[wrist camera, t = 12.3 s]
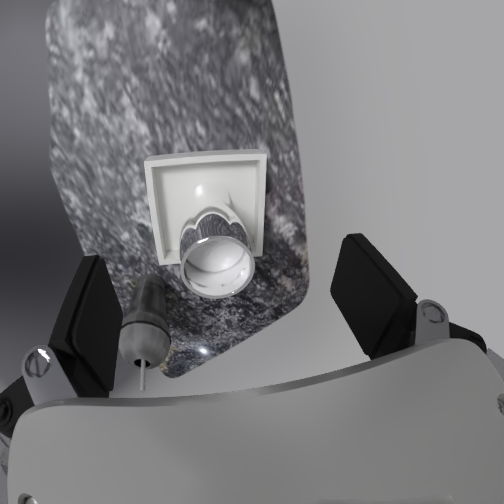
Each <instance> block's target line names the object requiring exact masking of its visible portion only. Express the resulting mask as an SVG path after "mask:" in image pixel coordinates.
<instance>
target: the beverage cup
mask: <svg viewBox="0 0 504 504" xmlns="http://www.w3.org/2000/svg"><path fill="white" fill-rule="evenodd" d="M170 345H171V337H170V334H169V329H168V326H167V313H166V295H165V285H164V282H163V280H162V279H161V278H160V277H159V276H157V275H154V274H145V275H143V276H141V277H140V279H139V280H138V283H137V285H136V287H135V290H134V293H133V296H132V299H131V302H130V305H129V308H128V311H127V314H126V317H125V319H124V321H123V323H122V326H121V332H120V338H119V349H120V351H121V354H122V356H123V357H124V359H125V360H126V361H127V362H128V363H129V364H130V365H132V366H134V367H136V368H139V369H141V392H143V393H144V392H145V369H152V368H155V367H157V366H159V365H160V364H161V363H162V362H163V361H164V360H165V359H166V357H167V355H168V352H169V349H170Z"/></svg>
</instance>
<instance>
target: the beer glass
mask: <svg viewBox="0 0 504 504" xmlns="http://www.w3.org/2000/svg"><path fill="white" fill-rule="evenodd" d="M186 212H187V214H188V215H187V217H186V219H185V222H184V224H183V227H182V230H181V233H180V239H179V261H180V274H181V278H182V280H183V282H184V284H185V285H186V287H187V288H188V289H189V290H191V291H192V292H193V293H195V294H197V295H199V296H202V297H205V298H212V299H219V298H225V297H229V296H232V295H234V294H236V293H238V292H240V291H241V290H242V289H244V288H245V287H246V286H247V285H248V283H249V282H250V281H251V279H252V277H253V275H254V271H255V261H254V257H253V254H252V249H251V244H250V241H249V237H248V234H247V232H246V230H245V227H244V225H243V223H242V222H241V220H240V219H239V218H238V216H237V215H236V214H235V213H234V212H233V210H232V209H231V200H230V197H229V195H228V193H227V192H226V190H225V189H223V188H222V187H220V186H218V185H216V184H202V185H199V186H197V187H196V188H194V189H193V190H192V191H191V192H190V193H189V195H188V197H187V199H186Z"/></svg>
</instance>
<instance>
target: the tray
mask: <svg viewBox="0 0 504 504" xmlns="http://www.w3.org/2000/svg"><path fill="white" fill-rule="evenodd" d="M266 160H267V154H266V153H265V152H264V151H263V150H261V149H242V150H216V151H200V152H186V153H175V154H165V155H156V156H148V157H147V159H146V160H145V161H144V166H145V175H146V184H147V192H148V199H149V207H150V213H151V220H152V226H153V232H154V238H155V244H156V249H157V255H158V260H159V265H167V264H179V263H180V261H179V239H180V233H181V230H182V227H183V224H184V222H185V219H186V217H187V215H188V214H187V212H186V199H187V197H188V195H189V193H190V192H191V191H192V190H193V189H194V188H196V187H197V186H199V185H202V184H216V185H218V186H220V187H222V188H223V189H225V190H226V192H227V193H228V195H229V197H230V200H231V209H232V210H233V212H234V213H235V214H236V215H237V216H238V218H239V219H240V220H241V222H242V223H243V225H244V227H245V230H246V232H247V234H248V237H249V241H250V244H251V249H252V254H253V257H257V256H262V251H263V230H264V208H265V185H266Z"/></svg>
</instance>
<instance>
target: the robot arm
mask: <svg viewBox="0 0 504 504" xmlns="http://www.w3.org/2000/svg"><path fill="white" fill-rule="evenodd" d="M330 289H331V290H330V292H331V295H332V298H333V299H334V301H335V303H336V304H337V306H338V308H339V309H340V311H341V313H342V314H343V316H344V318H345V320H346V322H347V323H348V325H349V327H350V329H351V330H352V332H353V334H354V336H355V337H356V339H357V341H358V343H359V345H360V346H361V348H362V350H363V352H364V353H365V354H366V355H368V356H369V357H370V359H371V361H368V362H364V363H361V364H358V365H354V366H351V367H348V368H344V369H340V370H337V371H333V372H329V373H325V374H321V375H318V376H313V377H309V378H305V379H300V380H296V381H291V382H286V383H281V384H276V385H270V386H264V387H259V388H252V389H246V390H240V391H232V392H224V393H215V394H205V395H194V396H180V397H160V398H109V391H112V390H113V387H114V377H115V368H116V360H117V352H118V345H119V338H120V332H121V326H122V320H123V312H122V309H121V306H120V303H119V301H118V298H117V295H116V293H115V290H114V287H113V284H112V282H111V279H110V276H109V273H108V270H107V267H106V264H105V261H104V259H103V258H101V259H100V257H99V256H98V255H92V256H84V257H83V259H82V261H81V263H80V265H79V267H78V270H77V272H76V274H75V276H74V278H73V281H72V283H71V285H70V287H69V290H68V292H67V295H66V297H65V300H64V302H63V305H62V307H61V310H60V312H59V315H58V318H57V321H56V323H55V326H54V329H53V332H52V335H51V338H50V341H49V344H48V347H47V346H43V345H41V346H36V347H35V348H32V349H31V350H30V351H29V352H28V353H27V354H26V355H25V357H24V359H23V361H22V368H21V369H22V374H23V375H22V376H21V377H20V378H19V379H17V380H16V381H15V382H14V383H12V384H11V385H10V386H9V387H8V388H7V389H5V390H4V391H3V392H2V393H0V504H504V359H503V358H501V357H500V356H499V355H497V354H496V353H495V352H493V351H492V350H491V349H489V348H488V349H487V348H486V344H485V342H484V340H483V338H482V337H481V336H480V335H479V334H477V333H475V332H473V331H471V330H468V329H466V328H463V327H460V326H458V325H456V324H453V323H451V322H449V319H448V314H447V312H446V310H445V309H444V308H443V307H442V306H441V305H440V304H439V303H437V302H435V301H432V300H422V301H420V302H419V303H418V304H417V303H416V302H415V301H416V299H417V297H418V296H417V295H416V293H415V292H414V291H413V290H412V289H411V287H410V286H409V285H408V284H407V283H406V282H405V280H404V279H403V278H402V277H401V276H400V275H399V273H398V272H397V271H396V270H395V269H394V268H393V267H392V266H391V264H390V263H389V262H388V261H387V260H386V259H385V258H384V257H383V256H382V254H381V253H380V252H379V251H378V250H377V249H376V248H375V247H374V246H373V245H372V244H371V243H370V242H369V241H368V239H367V238H366V237H365V236H364V235H363V234H361V233H358V234H357V233H356V234H348V235H347V236H346V238H344V239H343V241H342V245H341V249H340V253H339V258H338V261H337V266H336V269H335V273H334V277H333V281H332V284H331V288H330Z"/></svg>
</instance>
